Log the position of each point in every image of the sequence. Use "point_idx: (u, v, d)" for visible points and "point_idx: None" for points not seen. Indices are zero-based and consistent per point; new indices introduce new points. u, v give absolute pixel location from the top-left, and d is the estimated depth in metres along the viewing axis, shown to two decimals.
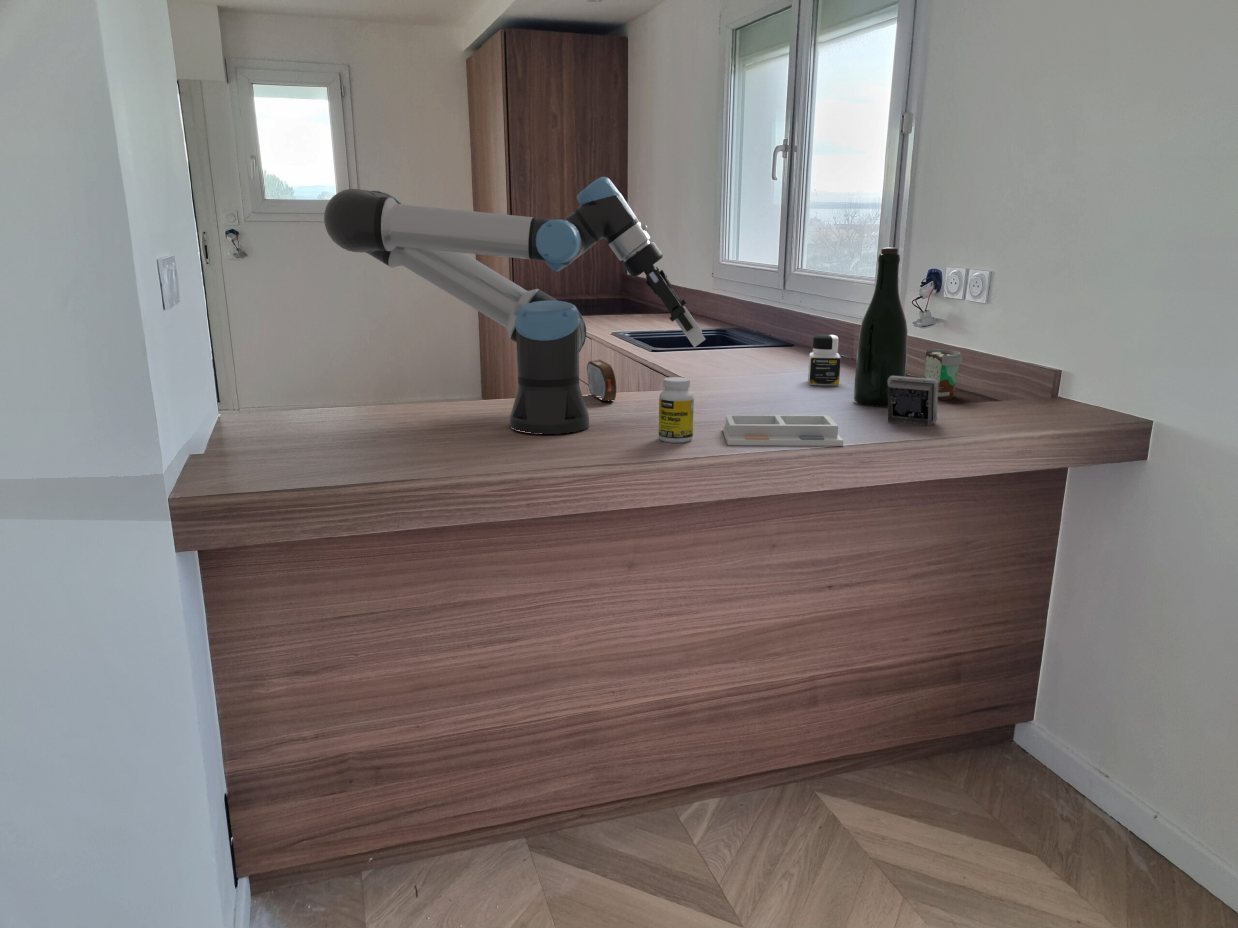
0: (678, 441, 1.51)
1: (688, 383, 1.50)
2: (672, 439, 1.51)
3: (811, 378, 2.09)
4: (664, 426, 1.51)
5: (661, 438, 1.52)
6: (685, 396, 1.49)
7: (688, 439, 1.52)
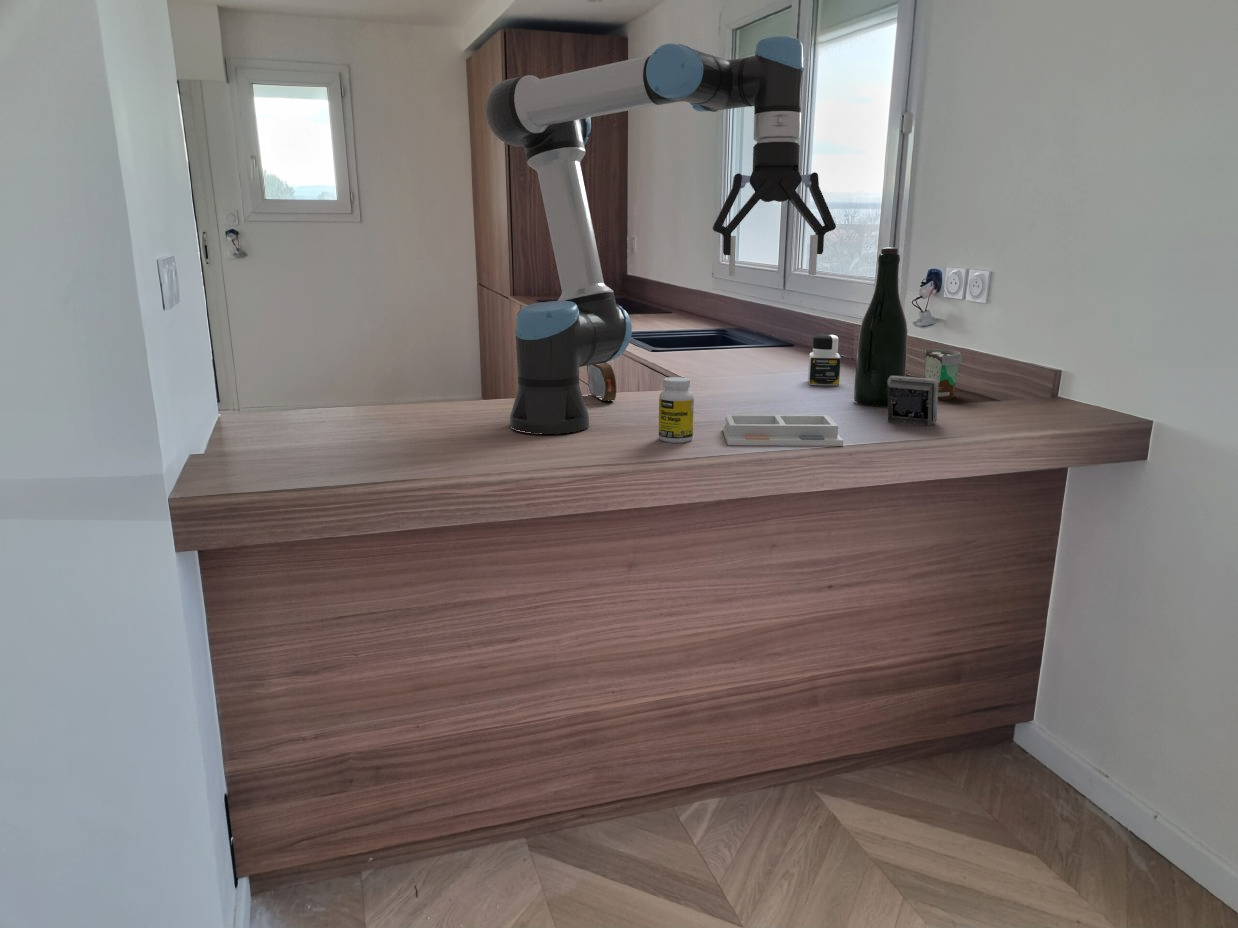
0: (678, 441, 1.51)
1: (688, 383, 1.50)
2: (672, 439, 1.51)
3: (811, 378, 2.09)
4: (664, 426, 1.51)
5: (661, 438, 1.52)
6: (685, 396, 1.49)
7: (688, 439, 1.52)
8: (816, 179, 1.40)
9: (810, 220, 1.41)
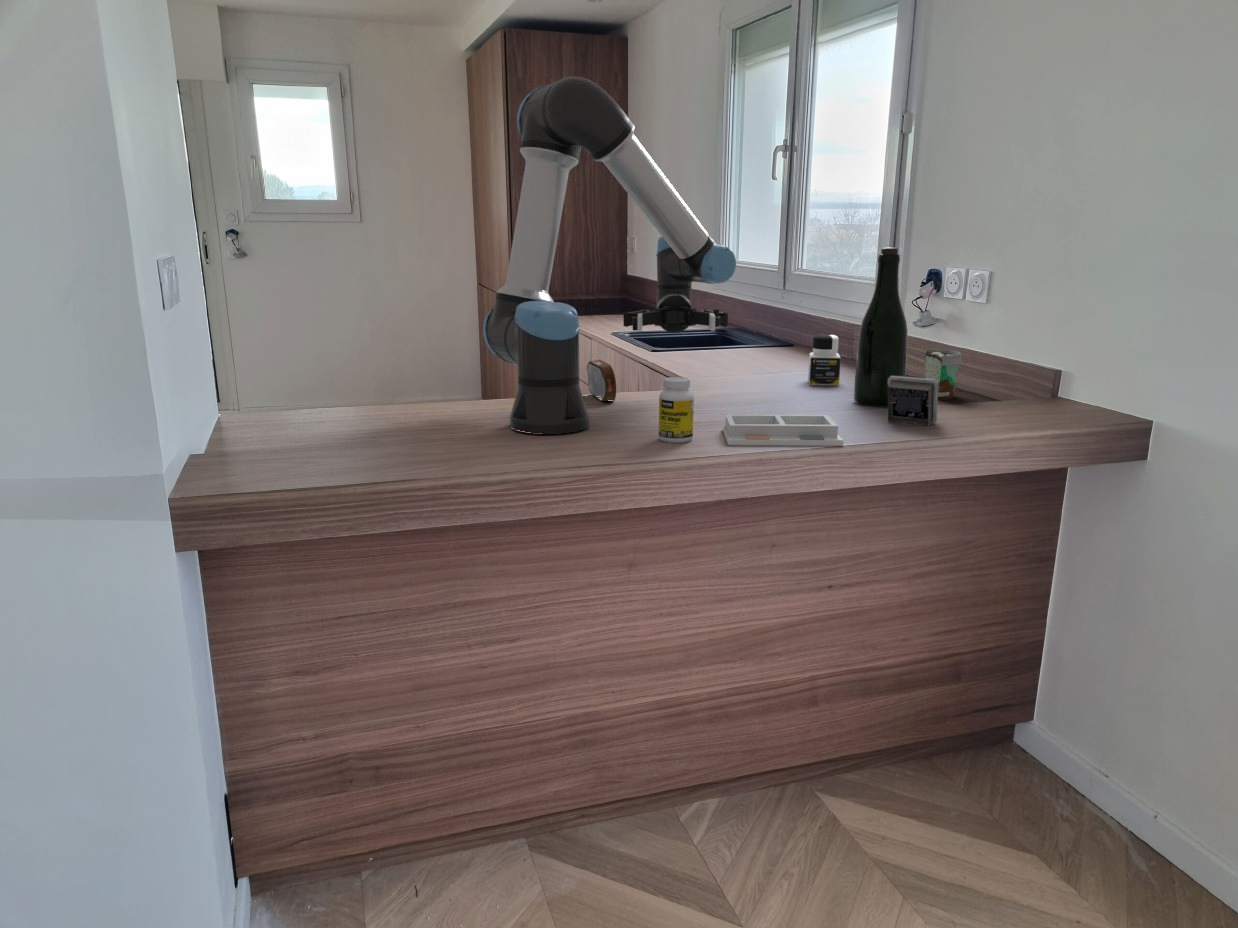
0: (678, 441, 1.51)
1: (688, 383, 1.50)
2: (672, 439, 1.51)
3: (811, 378, 2.09)
4: (664, 426, 1.51)
5: (661, 438, 1.52)
6: (685, 396, 1.49)
7: (688, 439, 1.52)
8: None
9: None
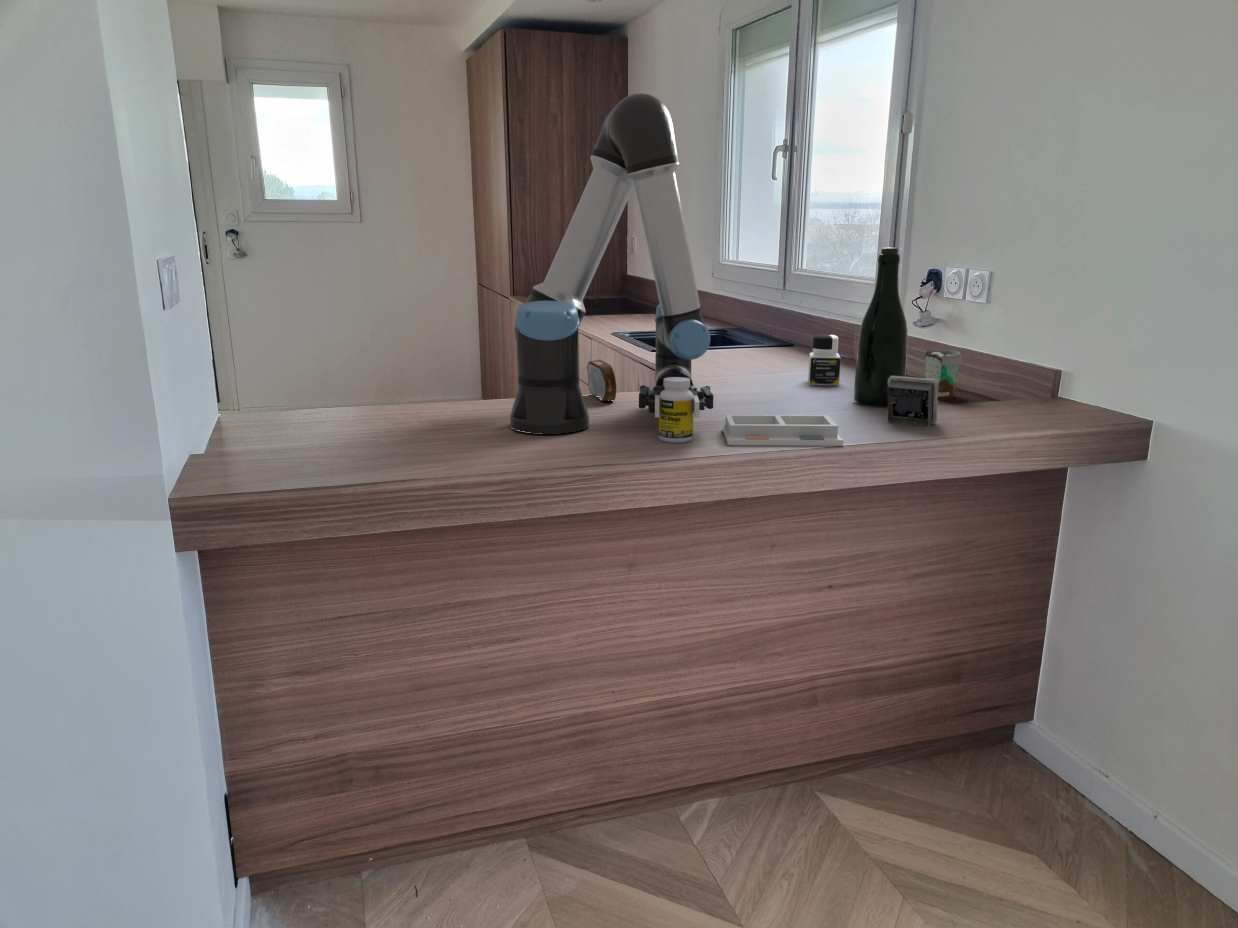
0: (678, 441, 1.51)
1: (688, 383, 1.50)
2: (672, 439, 1.51)
3: (811, 378, 2.09)
4: (664, 426, 1.51)
5: (661, 438, 1.52)
6: (685, 395, 1.49)
7: (688, 439, 1.52)
8: None
9: None
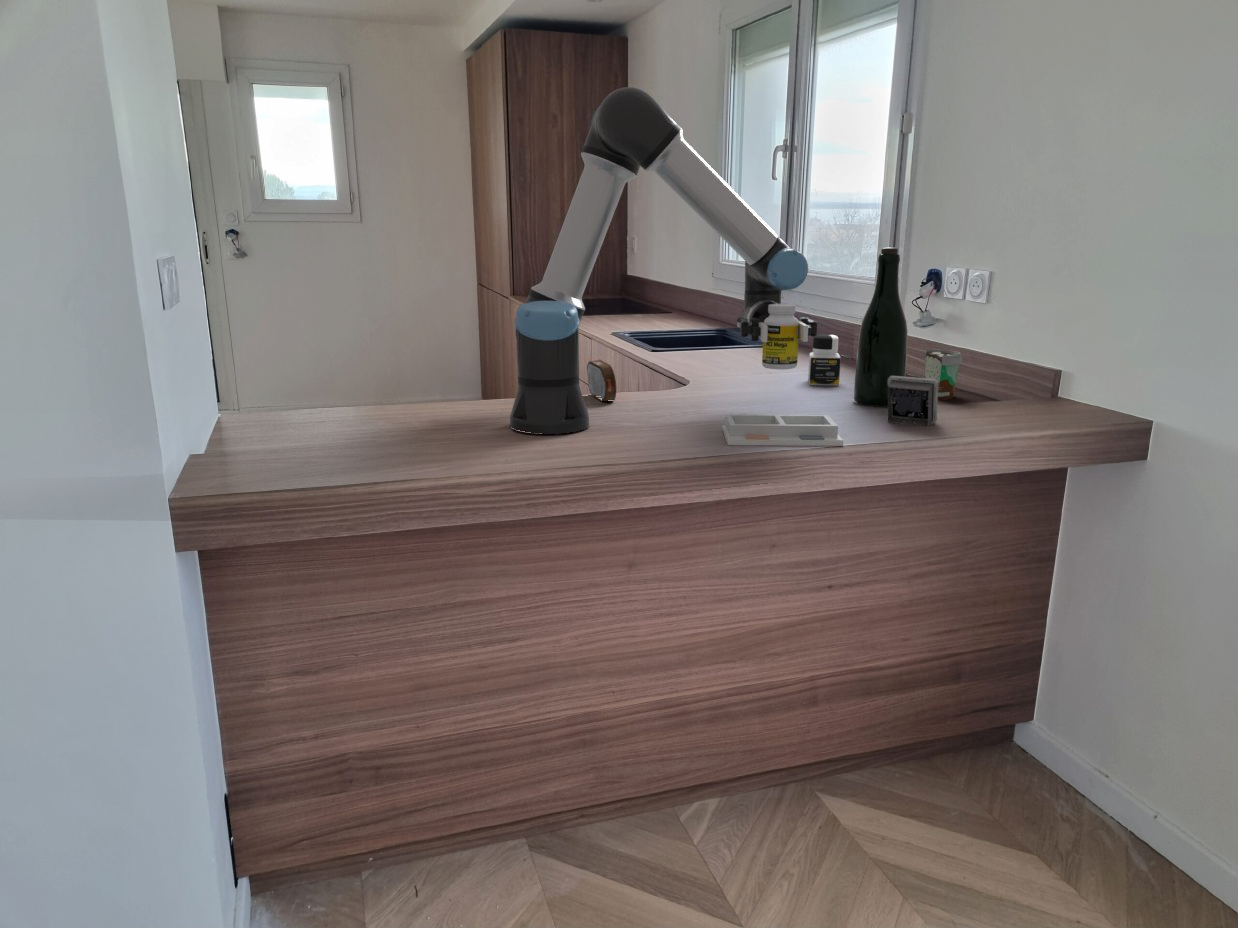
0: (784, 367, 1.49)
1: (794, 308, 1.48)
2: (778, 365, 1.49)
3: (811, 378, 2.09)
4: (770, 352, 1.49)
5: (766, 365, 1.51)
6: (791, 320, 1.48)
7: (794, 365, 1.50)
8: (739, 331, 1.61)
9: None
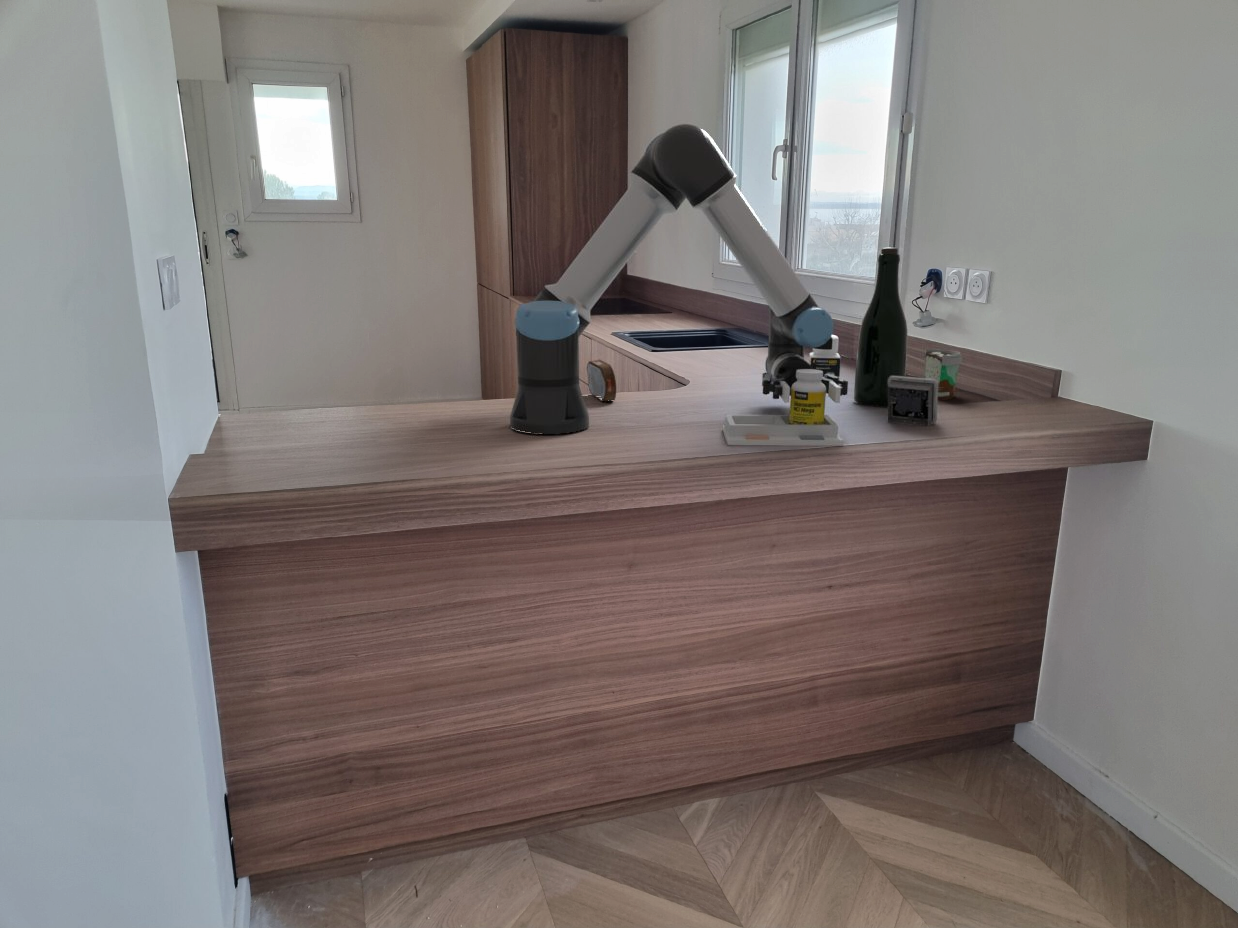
0: None
1: (822, 375, 1.52)
2: None
3: None
4: (797, 417, 1.53)
5: None
6: (819, 387, 1.51)
7: None
8: None
9: None
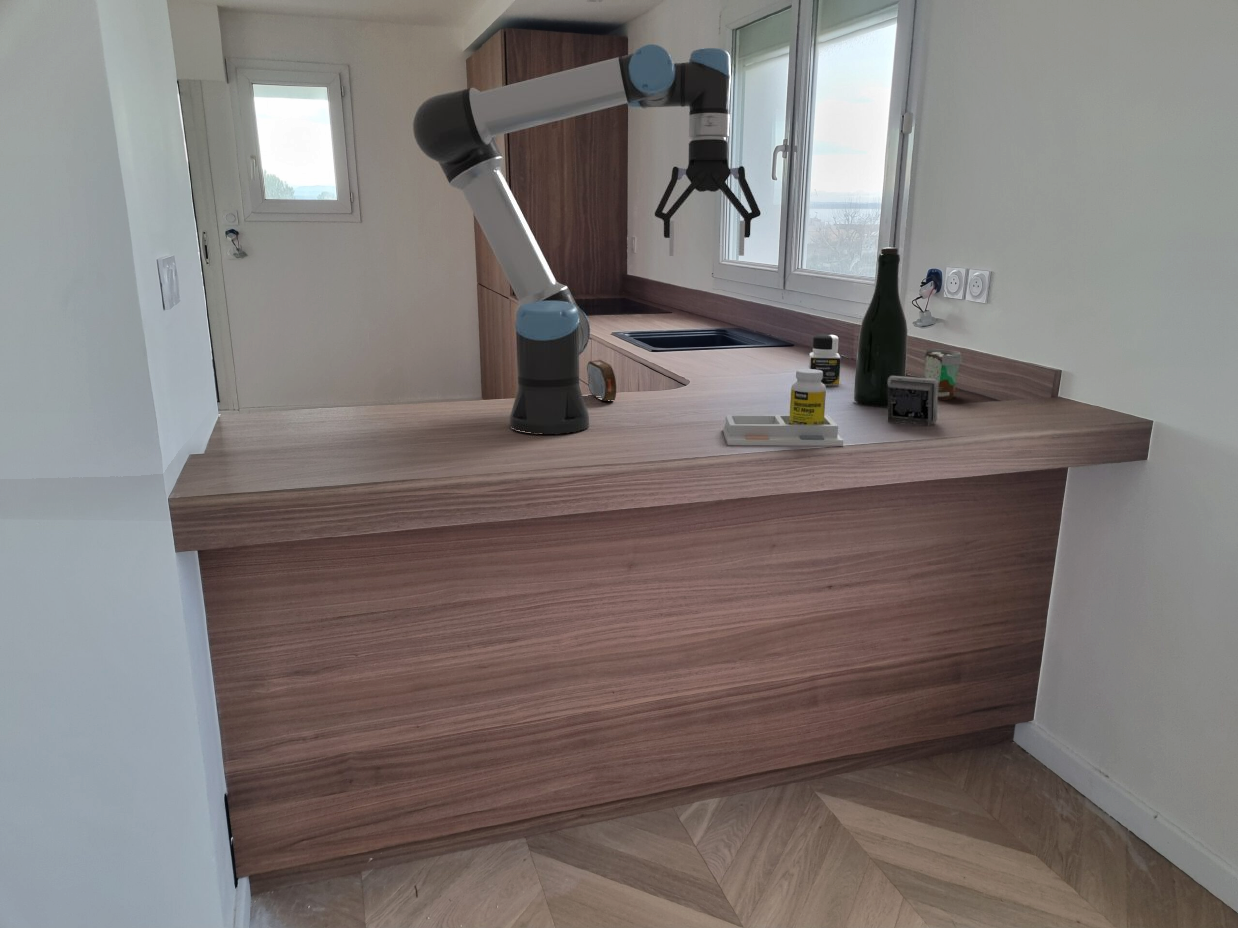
0: None
1: (821, 375, 1.52)
2: None
3: None
4: (797, 417, 1.53)
5: None
6: (819, 387, 1.51)
7: None
8: (743, 172, 1.61)
9: (738, 208, 1.63)
